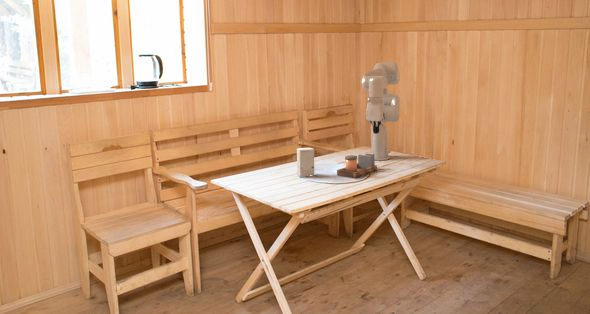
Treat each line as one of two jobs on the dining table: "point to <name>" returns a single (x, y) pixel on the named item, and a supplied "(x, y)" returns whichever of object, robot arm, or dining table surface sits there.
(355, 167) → the jar
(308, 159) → the skincare box
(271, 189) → the dining table surface
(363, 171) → the brown wooden tray
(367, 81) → the robot arm
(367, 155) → the pusher
